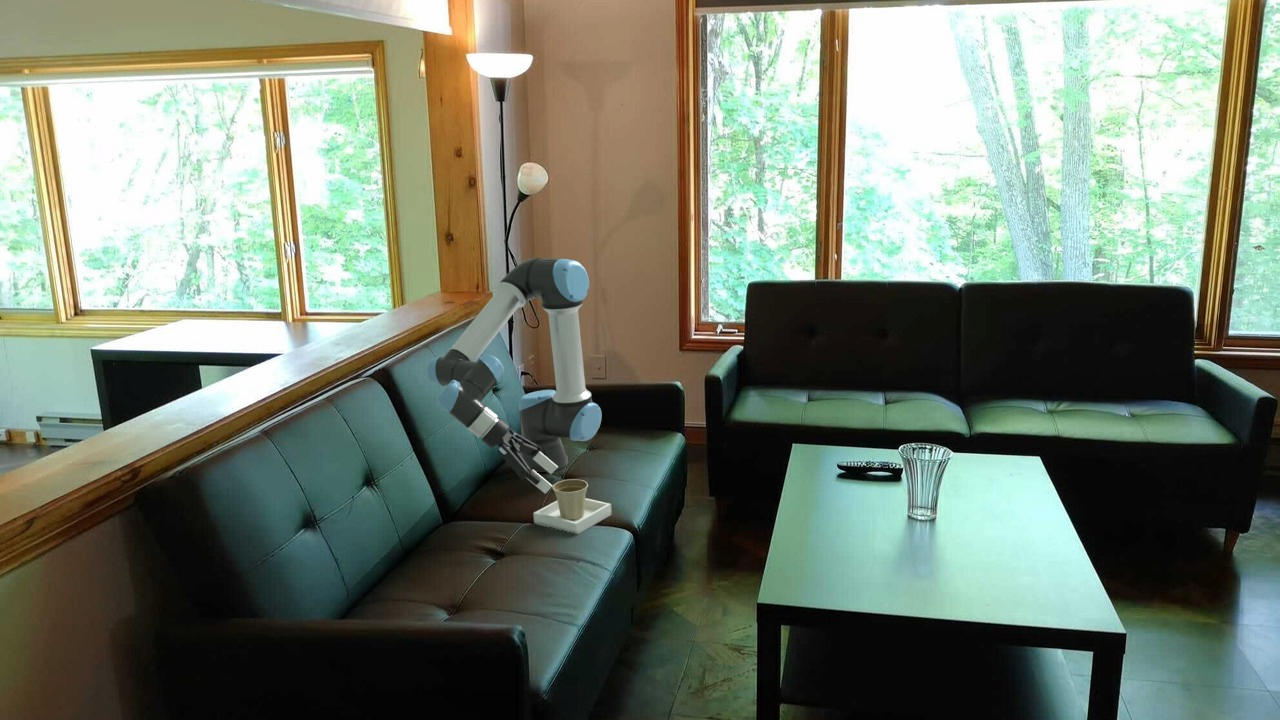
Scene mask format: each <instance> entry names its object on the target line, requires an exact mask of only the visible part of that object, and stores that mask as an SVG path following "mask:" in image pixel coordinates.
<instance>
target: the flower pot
mask: <svg viewBox="0 0 1280 720" xmlns="http://www.w3.org/2000/svg"><path fill="white" fill-rule="evenodd" d="M588 483H589V482H587V481H585V480H583V479H580V478H579V479H575V478H571V479H570V478H569V479H563V480H561V481H560V480H559V481H557V482H556V483H554V484H552V487H551V488H552V490H553V491H554V494H555V496H556V501H558V506H559V510H560V516H561V518H563V519H566V520H571V519H574V520H576V519H579V518H582V517H583V516H584V507H585V498H586V494H587V490H588V487H589V484H588Z"/></svg>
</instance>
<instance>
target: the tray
mask: <svg viewBox="0 0 1280 720" xmlns="http://www.w3.org/2000/svg"><path fill="white" fill-rule="evenodd" d="M612 513H613V512H612V503H608V502H605V501H600V500H595V499H591V498H586V497H585V507H584V516H583V517H582V518H579V519H576V520H574V519H571V520H566V519H563V518H561V516H560V510H559V506H558V501H557V500H555V501H553V502H551V503H549V504H548V505H546V506H544V507H542V508H540V509H538V510H536V511H534V512H533V523H534V525H538V526H542V527H546V526H547V528H549V527H553V528H556V529H555V530H557V529H559V530H558V531H561V530H564V531H563V532H565V531H567V532H566V533H569V532H571V533H570V534H572V533H575V534H574V535H576V534H577V535H579V534H580V533H582V532H585V531H586V530H588V529H589V528H591V527H593V526H594V525H597V524H598V523H600V522H601V521H602V520H605V519H607V518H609V517H610V516H612ZM553 528H552V529H553Z"/></svg>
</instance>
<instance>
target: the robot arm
mask: <svg viewBox="0 0 1280 720" xmlns="http://www.w3.org/2000/svg"><path fill="white" fill-rule="evenodd" d="M589 289H590V279H589V274H588V273H587V270H586V269H585V267H584V266H583V265H582V264H581V263H580V262H579V261H577V260H573V259H566V258H549V257H548V258H544V257H533V258H529V259H527V260H524V261H523V262H520V263H519V264H518V265H516V266H515V267H514V268H513V269H511V270H510V271H509V272H508V273H507V274H506V275H505V276H504V277H503V278H502V280H500V281H499V283H497V286H496V292H495V293H494V295H492V297H491V298H490V299H489V301H488V302H487V303H486V304H485V306H484V307H483V308H481V310H480V312H479V313H478V314H477V315H476V316H475V318H474V319H473V320H472V322H471V323H469V325H468V326H467V328H466V329H465V331H463V332H462V334H461V335H460V336H459V337H458V339H457V340H456V341H455V342H454V343H453V345H452V346H451V347H450V348H449V350H448V351H447V352H446V353H445V355H444V356H436V357H434V358H432V359H431V360H430V361H429V362H428V364H427V367H426V374H427V375H426V376H427V377H428V379H429V381H430V382H431V383H432V384H435V385H438V386H439V385H440V386H442V387H444V389H443V390H442V391H441V392H440V393H439V394H438V395H437V397H436V402H437V404H438V405H439V406H440V407H441V408H442V409H443V410H444V411H446V413H448V414H449V415H451V417H453V418H455V420H457V421H458V422H459V423H460V424H462V425H463V426H464V427H466V429H467V430H469V433H470V434H473V435H475V436H476V437H477V438H481V441H482V442H483V443H484V444H486V445H487V446H488V447H489V448H492V449H493V448H494V447H495V446H498V449H497V451H496V452H497V454H498V455H500V456H501V457H502V458H503V460H505V462H506V463H507V464H508V466H509V467H510V468H511V469H512V470H513V471H514V472H515V474H516V475H517V476H518V477H519V478H520V479H521V480H522V481H524V480H526V479H527V480H528V482H530V483H531V484H533V485H534V486H535V487H536V488H537V489H539V490H540V491H541V492H542V493H544V494H545V495H546V494H547V493H548V491H549V490H551V488H552V487H553V484H551V483H550V482H549V481H548V480H546V479H545V478H544V477H543V476H542V475H540V473H537V472H546V473H549V474H550V475H552V474H553V473H554V472H555V471H558V470H562V469H563V468H565V467H566V466H567V465H568V464H569V459H568V454H567V452H566V451H565V448H564V445H563V442H562V440H561V439H565V440H570V441H571V440H572V441H574V442H576V441H578V442H586V441H589V440H591V439H592V438H594V436H595V435H596V434H597V432H598V430H599V428H600V426H601V422H602V410H601V407H600V406H599V404H597V403H595V402H593V399H592V398H593V397H592V392H591V391H589V390H588V389H587V388H586V380H585V369H584V368H585V367H584V358H583V357H584V356H583V350H582V339H581V330H580V329H581V328H580V319H579V318H580V317H579V309H580V308H581V307H582V306H583V301H584V299H585V298H586V297H587V296H588V291H589ZM534 299H541V307H542V309H543V310H544V312H546V313H547V316H548V322H549V323H548V324H549V331H550V342H551V351H552V360H553V369H554V370H553V371H554V380H555V389H556V390H555V389H542V390H537V391H533V392H529V393H526V394H524V395H522V396H521V397H520V398H519V401H518V403H519V404H518V406H519V408H518V411H519V422H520V429H521V431H520V432H521V434H519V433H518V432H516V431H515V430H514V429H512V428H510V427H511V426H510V424H508V422H506V421H505V420H504V419H502V418H501V417H500V418H498V414H497V413H495V412H494V411H493V410H492V409H491V408H490V407H488V406H487V405H486V404H484V402H483V400H484V399H485V398H486V396H488V394H489V393H490V392H491V390H492V389H493V388H494V387H495V386H496V385H497V384H498V383H499V380H500V379H501V378H502V376H503V375H504V373H505V367H504V366H503V363H502V361H500V360H499V359H498V358H497V357H496V356H494V355H493V354H487V353H486V354H483V353H484V351H485V350H486V349H487V348H488V346H489V345H490V344H491V342H493V340H494V339H495V337H496V336H497V334H498V333H500V331H501V330H502V329H503V327H504V326H505V325H506V324H507V322H508V321H509V320H510V318H511V317H512V316H513V315H514V313H515V312H516V311H517V310H518V308H519V309H520V308H523V307H524V306H525V305H526V304H527V302H529V301H530V300H534ZM482 354H483V355H482ZM481 355H482V356H481Z"/></svg>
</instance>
